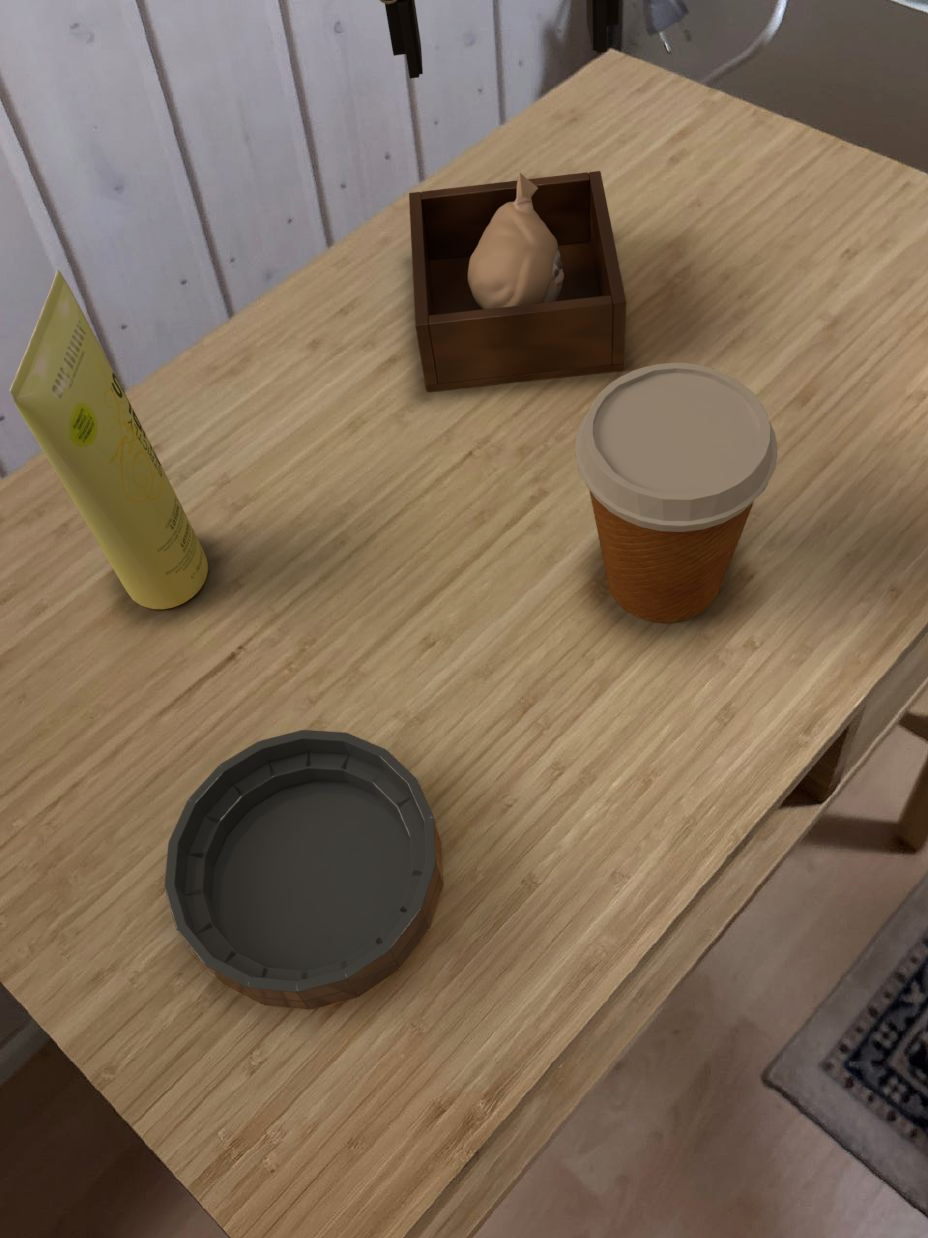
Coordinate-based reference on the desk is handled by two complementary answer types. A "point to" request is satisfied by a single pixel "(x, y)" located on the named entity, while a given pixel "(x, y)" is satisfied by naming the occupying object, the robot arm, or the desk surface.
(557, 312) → the holder
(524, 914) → the desk surface
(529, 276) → the garlic bulb
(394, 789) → the bowl
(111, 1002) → the desk surface
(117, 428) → the tube
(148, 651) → the desk surface
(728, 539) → the disposable coffee cup
